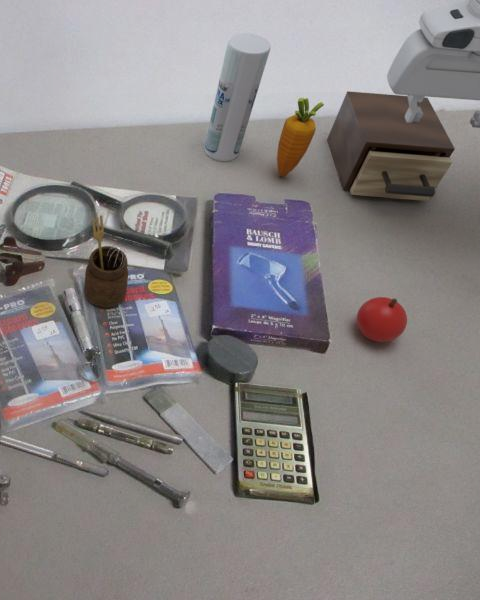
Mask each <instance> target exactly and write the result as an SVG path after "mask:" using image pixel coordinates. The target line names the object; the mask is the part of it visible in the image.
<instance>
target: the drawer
mask: <svg viewBox="0 0 480 600" xmlns="http://www.w3.org/2000/svg"><path fill="white" fill-rule="evenodd" d="M440 154H441V153H440V152H428V151H415V150H403V149H391V148H378V147H369V149H368V151H367V153H366V155H365V157H364V159H363V161H362V163H361V165H360V167H359V169H358V172H357V174H356V176H355V178H354V180H353V182H354V183H353V185H352V187H351V189H350V191H349V192H350V195H352V196H363V197H364V196H365V197H374V198H375V197H377V198H388V199H400V200H412V201H413V200H414V201H423V202H428V201H429V200H430V198H433V197H434V196H435V194H436V189H437V187H438V186H439V184H440V182H441V181H442V179H443V178H444V176H445V174H446V173H447V171H448V170H449V168H450V167H451V166H452V164H453V161H452V158H451V157H450V158H448V157H439V156H440Z"/></svg>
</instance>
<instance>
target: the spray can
mask: <svg viewBox="0 0 480 600" xmlns="http://www.w3.org/2000/svg"><path fill="white" fill-rule="evenodd" d="M271 47H272V46H271V43H270V41H269V40H268V39H266V38H265V37H263V36H262V35H258V34H254V33H250V32H241V33H236V34H232V36H229V38H228V41H227V44H226V49H225V54H224V58H223V63H222V67H221V71H220V74H219V75H220V76H219V80H218V84H217V89H216V93H215V96H214V97H215V98H214V102H213V106H212V111H211V116H210V120H209V123H208V128H207V132H206V137H205V141H204V145H203V146H204V147H203V150H204V153H205V154H206V156H207V157H209V158H210V159H212V160H214V161H218V162H231V161H234V160H235V159H236V158H237V157H238V155H239V154H240V150H241V147H242V144H243V141H244V139H245V135H246V131H247V127H248V125H249V122H250V118H251V114H252V111H253V107H254V105H255V101H256V99H257V95H258V92H259V88H260V84H261V82H262V78H263V74H264V72H265V69H266V64H267V61H268V58H269V54H270V52H271Z"/></svg>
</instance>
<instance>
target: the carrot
mask: <svg viewBox="0 0 480 600" xmlns="http://www.w3.org/2000/svg"><path fill="white" fill-rule="evenodd" d="M324 105H325V104H324V102H322V101H320V102H318V103H317V104H316V105H315V106H314V107H313V108H312V109H311V110H310V101H309V98H306V97H299V98H298V100H297V108H298V110H295V111H294V114H293V115H291V116H289V117H287V118H286V119H285V120H284V124H283V127H282V129H281V133H280V136H279V140H278V145H277V154H276V166H277V172H278V175H279V177H280V178H284V177H286V176H287V175H288V174H290V173H291V172H292V171H293V170H294V169H295V168H297V166H298V165H299V163H300V162H301V160H302V159H303V157H304V156H305V154H306V153H307V151H308V150H309V149H308V148H309V147H310V144H311V142H312V140H313V138H314V136H315V134H316V129H317V128H316V124H315V120H314V119H313V118H311V117H316V115H317V112H318V111H319V110H320V109H321V108H323V107H324Z"/></svg>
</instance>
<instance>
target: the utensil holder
mask: <svg viewBox="0 0 480 600" xmlns="http://www.w3.org/2000/svg"><path fill="white" fill-rule="evenodd" d="M91 222H92V223H91V225H92V234H93V239H94V240H97V246H98V247H97V248H95V249H94V250H93V251H92V252H91V254H90V255H89V258H88V262H87V263H88V264H87V265H86V269H85V273H84V289H83V290H84V293H85V294H84V295H85V297H86V299H87V300H88V301H89V302H90V303H91V304H92V305H94V306H96V307H99V308H102V309H103V308H104V309H105V308H106V309H108V308H109V309H110V308H113V307H116V306H118V305H119V304H121V303H122V301H123V300H124V299H125V298H126V293H127V289H128V282H129V269H128V266H129V265H128V257H127V254H126V253H127V252H126V247H125V246H123V247H122V246H121V244H119V245H118V246H115V244H113V245H112V246H110V245H104V246H102V238H103V237H104V236H105V230H104V220H103V215H102V214H99V216H96V217H95V218H94V217H92V219H91Z"/></svg>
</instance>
